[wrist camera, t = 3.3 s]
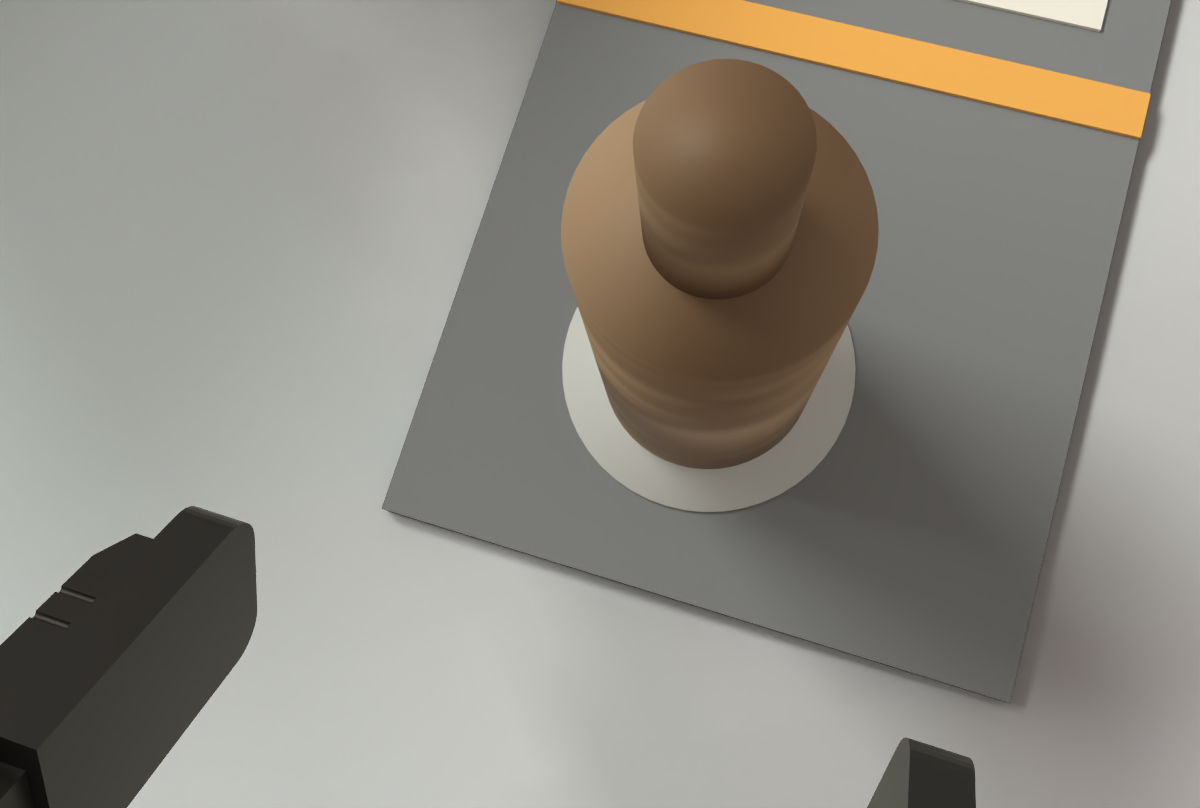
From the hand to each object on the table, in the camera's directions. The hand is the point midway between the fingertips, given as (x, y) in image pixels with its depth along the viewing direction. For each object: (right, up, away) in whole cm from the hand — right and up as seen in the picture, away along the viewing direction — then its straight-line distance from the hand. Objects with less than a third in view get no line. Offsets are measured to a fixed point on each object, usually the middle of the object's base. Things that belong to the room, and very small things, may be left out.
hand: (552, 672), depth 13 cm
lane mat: (+6, +10, +15) cm, 19 cm away
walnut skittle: (+3, +4, +13) cm, 14 cm away
